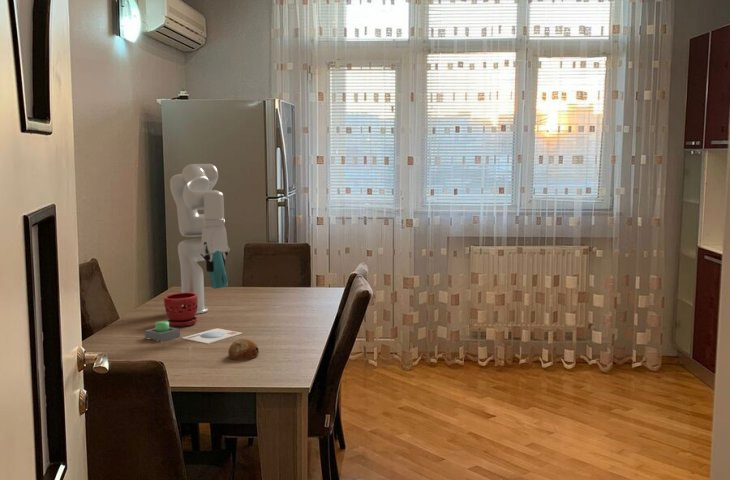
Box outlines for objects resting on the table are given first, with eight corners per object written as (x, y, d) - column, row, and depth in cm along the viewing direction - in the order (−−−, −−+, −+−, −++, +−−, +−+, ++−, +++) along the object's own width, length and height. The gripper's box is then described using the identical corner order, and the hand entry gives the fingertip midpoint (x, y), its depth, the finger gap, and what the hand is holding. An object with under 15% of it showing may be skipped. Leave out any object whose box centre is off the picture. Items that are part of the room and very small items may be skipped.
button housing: (145, 338, 280) (144, 330, 280) (164, 333, 287) (163, 325, 287) (161, 341, 275) (160, 333, 274) (180, 336, 282) (179, 329, 282)
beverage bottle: (225, 291, 285) (215, 240, 282) (209, 293, 287) (199, 242, 284) (231, 287, 292) (222, 237, 288) (216, 288, 293) (206, 239, 290)
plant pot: (187, 319, 312) (186, 290, 310) (204, 324, 303) (203, 295, 301) (159, 324, 303) (157, 295, 301) (175, 329, 294) (174, 299, 292)
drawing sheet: (181, 338, 280) (181, 337, 279) (216, 328, 294) (216, 327, 294) (207, 343, 272) (207, 342, 272) (242, 333, 286) (242, 332, 286)
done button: (152, 333, 280) (152, 323, 280) (163, 330, 284) (163, 320, 284) (161, 335, 277) (161, 324, 277) (172, 332, 281) (171, 322, 281)
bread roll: (235, 363, 260) (225, 343, 259) (262, 349, 260) (251, 329, 259) (233, 371, 250) (222, 350, 249) (260, 357, 251) (249, 337, 249)
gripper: (223, 221, 295) (224, 267, 297) (190, 225, 281) (192, 272, 283) (237, 222, 291) (238, 268, 293) (204, 226, 277) (206, 274, 279)
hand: (215, 270), depth 288 cm, fingers closed on beverage bottle, 5 cm apart
